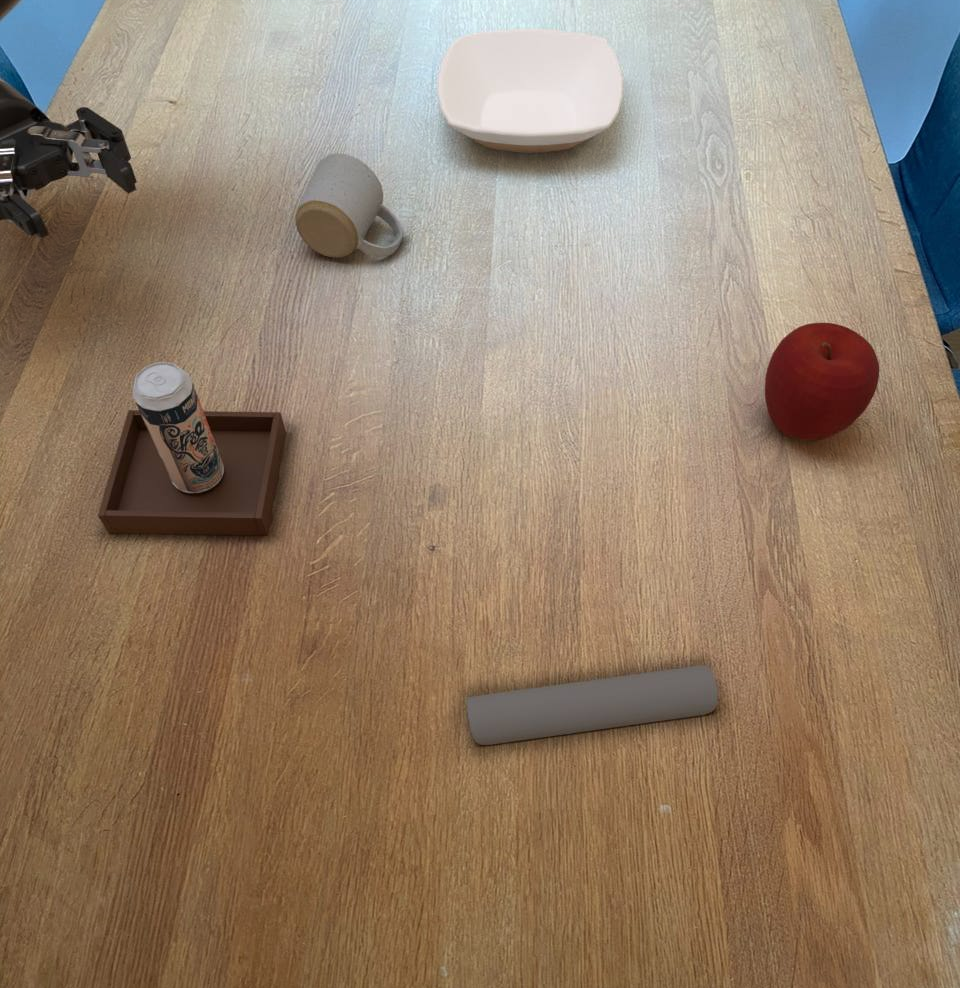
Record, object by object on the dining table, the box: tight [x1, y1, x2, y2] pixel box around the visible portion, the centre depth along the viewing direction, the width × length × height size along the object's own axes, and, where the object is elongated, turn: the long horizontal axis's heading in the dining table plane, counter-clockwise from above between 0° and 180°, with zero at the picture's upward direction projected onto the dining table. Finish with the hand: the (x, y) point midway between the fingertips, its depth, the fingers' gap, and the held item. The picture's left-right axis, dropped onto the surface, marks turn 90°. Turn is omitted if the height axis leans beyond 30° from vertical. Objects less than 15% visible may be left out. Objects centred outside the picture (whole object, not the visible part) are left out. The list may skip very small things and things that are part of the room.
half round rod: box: [465, 664, 719, 746], centre depth 73 cm, size 4×20×2 cm, turn 98°
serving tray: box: [97, 409, 287, 537], centre depth 85 cm, size 14×12×3 cm
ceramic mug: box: [294, 153, 404, 258], centre depth 100 cm, size 11×8×8 cm
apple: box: [764, 322, 880, 441], centre depth 85 cm, size 10×10×10 cm
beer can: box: [132, 361, 224, 493], centre depth 80 cm, size 5×5×12 cm
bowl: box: [437, 28, 624, 154], centre depth 112 cm, size 22×22×5 cm
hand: (86, 204), depth 78 cm, fingers open, 8 cm apart
